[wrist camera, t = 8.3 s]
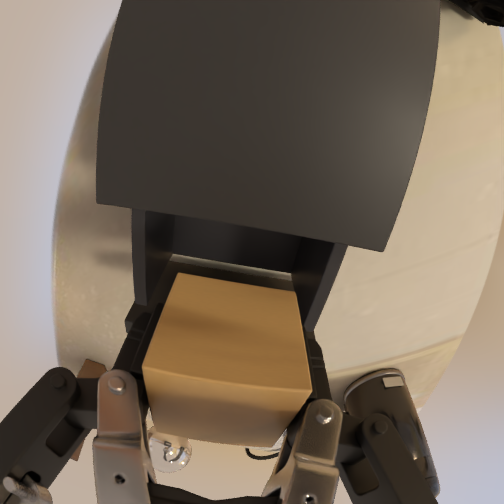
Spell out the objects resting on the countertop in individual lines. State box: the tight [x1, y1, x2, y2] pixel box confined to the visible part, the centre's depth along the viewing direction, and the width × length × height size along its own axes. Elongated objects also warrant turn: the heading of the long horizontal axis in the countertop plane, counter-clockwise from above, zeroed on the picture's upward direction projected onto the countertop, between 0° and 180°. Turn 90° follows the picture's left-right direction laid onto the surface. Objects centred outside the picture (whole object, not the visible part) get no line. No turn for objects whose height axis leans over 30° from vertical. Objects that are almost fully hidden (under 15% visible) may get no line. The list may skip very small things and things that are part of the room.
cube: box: [142, 273, 312, 447], centre depth 9 cm, size 4×4×4 cm
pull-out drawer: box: [125, 208, 348, 339], centre depth 18 cm, size 19×13×8 cm, turn 169°
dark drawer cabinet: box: [96, 0, 440, 252], centre depth 12 cm, size 16×14×10 cm
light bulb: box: [147, 426, 191, 473], centre depth 30 cm, size 7×7×12 cm
